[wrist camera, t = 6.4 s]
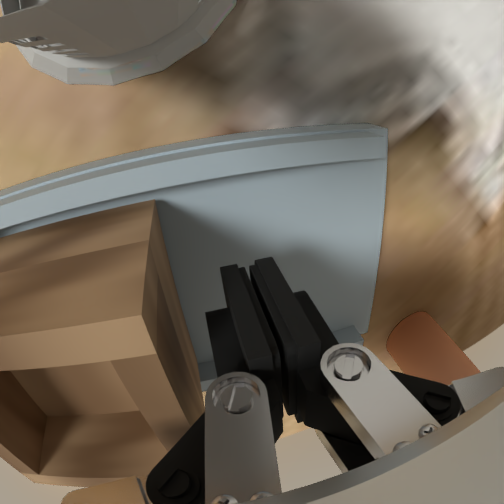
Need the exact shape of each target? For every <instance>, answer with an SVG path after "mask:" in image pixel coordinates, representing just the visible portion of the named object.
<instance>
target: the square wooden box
mask: <svg viewBox="0 0 504 504" xmlns="http://www.w3.org/2000/svg"><path fill="white" fill-rule="evenodd" d="M204 412H205V407H204V401H203V395H202V389H201V383H200V376H199V370H198V363H197V358H196V355H195V352H194V348H193V345H192V342H191V338H190V335H189V332H188V328H187V325H186V322H185V318H184V315H183V311H182V307H181V304H180V300H179V297H178V293H177V289H176V286H175V282H174V278H173V274H172V270H171V266H170V262H169V258H168V254H167V250H166V246H165V242H164V238H163V233H162V229H161V225H160V220H159V216H158V211H157V207H156V202H155V199H153V200H148V201H143V202H139V203H134V204H129V205H125V206H120V207H116V208H111V209H107V210H103V211H98V212H94V213H90V214H86V215H82V216H78V217H74V218H70V219H66V220H62V221H58V222H54V223H51V224H47V225H43V226H39V227H36V228H32V229H29V230H25V231H22V232H18V233H15V234H11V235H8V236H5V237H1V238H0V457H1V458H3V459H4V460H5V461H6V462H7V463H9V464H10V465H11V466H13V467H14V468H15V469H16V470H18V471H19V472H20V473H22V474H23V475H25V476H26V477H27V478H28V479H30V480H31V481H33V482H34V483H41V484H50V485H62V486H78V487H91V486H96V485H100V484H104V483H108V482H112V481H116V480H120V479H124V478H127V477H131V476H134V475H136V476H137V477H142V476H145V475H148V474H149V473H150V472H151V470H152V469H153V468H154V467H155V466H156V465H157V464H158V462H159V461H160V460H161V459H162V458H163V457H164V456H165V455H166V454H167V453H168V452H169V451H170V450H171V448H172V447H173V446H174V445H175V444H176V443H177V442H178V441H179V440H180V439H181V437H182V436H183V435H184V434H185V433H186V432H187V431H188V430H189V429H190V427H191V426H192V425H193V424H194V423H195V422H196V421H197V420H198V418H199V417H200V416H201V415H202V414H203V413H204Z"/></svg>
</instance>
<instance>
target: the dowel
mask: <svg viewBox="0 0 504 504" xmlns="http://www.w3.org/2000/svg"><path fill="white" fill-rule="evenodd" d="M386 348H387V351H388V352H389V353H390V355H391V356H392V357H393V359H394V360H395V362H396V363H397V364H398V366H399V367H400V369H401V370H402V371H403V373H404V374H407V375H411V376H415V377H419V378H423V379H427V380H431V381H436V382H440V383H443V384H445V385H450V384H451V382H452V381H454V380H458V379H462V378H465V377H468V376H472V375H475V374H478V373H481V372H480V371H479V370H478V369H477V367H476V366H475V365H474V364H473V363H472V362H471V360H469V358H468V357H467V356H466V355H465V354H464V352H463V351H462V350H461V349H460V348H459V347H458V346H457V345H456V343H455V342H454V341H453V340H452V339H451V338H450V337H449V336H448V335H447V333H446V332H445V331H444V330H443V329H442V328H441V327H440V326H439V325H438V324H437V323H436V322H435V320H434V319H433V318H432V317H431V316H430V315H429V314H428V313H427V312H423V311H420V312H416V313H413V314H411V315H409V316H408V317H406V318H405V319H404V320H402V321H401V322H400V323H399V324H398V325H397V326H396V327H395V328H394V330H393V331H392V332H391V334H390V336H389V338H388V340H387V344H386Z"/></svg>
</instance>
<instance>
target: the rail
mask: <svg viewBox="0 0 504 504" xmlns="http://www.w3.org/2000/svg"><path fill="white" fill-rule="evenodd" d="M387 149H388V128H384V127H381V126H377V125H373V124H369V123H359V124H334V125H317V126H303V127H291V128H280V129H270V130H261V131H252V132H244V133H236V134H229V135H222V136H215V137H209V138H202V139H196V140H190V141H185V142H179V143H174V144H169V145H163V146H158V147H153V148H149V149H144V150H139V151H135V152H130V153H126V154H122V155H117V156H113V157H109V158H105V159H101V160H97V161H93V162H90V163H86V164H82V165H79V166H75V167H71V168H68V169H65V170H61V171H58V172H54V173H51V174H48V175H45V176H42V177H38V178H35V179H32V180H29V181H26V182H23V183H20V184H18V185H15V186H12V187H9V188H6V189H3V190H1V191H0V238H1V237H5V236H8V235H11V234H15V233H18V232H22V231H25V230H29V229H32V228H36V227H39V226H43V225H47V224H51V223H54V222H58V221H62V220H66V219H70V218H74V217H78V216H82V215H86V214H90V213H94V212H98V211H103V210H107V209H111V208H116V207H120V206H125V205H129V204H134V203H139V202H143V201H148V200H153V199H155V202H156V207H157V211H158V216H159V220H160V225H161V229H162V233H163V238H164V242H165V246H166V250H167V254H168V258H169V262H170V266H171V270H172V274H173V278H174V282H175V286H176V289H177V293H178V297H179V300H180V304H181V307H182V311H183V315H184V318H185V322H186V325H187V328H188V332H189V335H190V338H191V342H192V345H193V348H194V352H195V355H196V358H197V363H198V370H199V376H200V383H201V389H202V392H203V391H207V389H208V387H209V386H210V384H211V383H212V382H213V381H214V380H216V379H217V378H218V377H217V372H216V368H215V363H214V358H213V353H212V348H211V343H210V337H209V332H208V327H207V322H206V316H205V312H208V311H213V310H218V309H223V308H227V305H226V300H225V294H224V289H223V283H222V278H221V272H220V267H223V266H228V265H233V264H237V265H238V268H241V267H245V269H246V272H247V274H248V276H249V279H250V272H249V266H250V265H255V264H254V262H255V260H257V259H262V258H267V257H273V259H274V261H275V262H276V264H277V266H278V267H279V269H280V271H281V273H282V274H283V276H284V278H285V280H286V281H287V283H288V285H289V286H290V288H291V290H292V292H293V293H294V292H298V291H303V290H304V291H306V292H307V293H308V295H309V296H310V298H311V300H312V301H313V303H314V304H315V306H316V308H317V309H318V311H319V312H320V314H321V315H322V317H323V319H324V320H325V322H326V323H327V325H328V327H329V328H330V330H331V331H332V333H333V335H334V336H335V338H336V339H337V341H338V343H339V344H341V343H354V344H359V345H362V346H363V342H364V339H363V338H362V337H361V335H360V334H363V333H366V332H368V326H369V321H370V315H371V310H372V304H373V297H374V291H375V285H376V278H377V271H378V263H379V255H380V247H381V238H382V228H383V217H384V205H385V192H386V174H387ZM250 281H251V280H250Z"/></svg>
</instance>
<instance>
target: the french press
mask: <svg viewBox="0 0 504 504" xmlns="http://www.w3.org/2000/svg"><path fill="white" fill-rule="evenodd" d="M236 2H237V0H0V4H1V9H2V13H3V16H2V17H0V42H1V43H4V42H10V43H13V44H16V46H17V47H18V49H19V50H20V51H21V53H22V54H23V56H24V57H25V59H26V60H27V61H28V63H29V64H30V65H31V67H33V68H35V69H37V70H39V71H41V72H43V73H45V74H48V75H50V76H52V77H54V78H56V79H58V80H60V81H62V82H64V83H66V84H95V85H116V84H119V83H122V82H125V81H129V80H132V79H135V78H138V77H142V76H145V75H149V74H152V73H156V72H159V71H163V70H164V69H166V68H167V67H169V66H170V65H172V64H173V63H175V62H176V61H178V60H179V59H181V58H182V57H184V56H185V55H187V54H188V53H190V52H191V51H193V50H195V49H196V48H198V47H199V46H201V45H203V44H204V43H206V42H207V41H208V39H209V38H210V37H211V35H212V34H213V33H214V32H215V30H216V29H217V28H218V27H219V25H220V24H221V23H222V22H223V20H224V19H225V18H226V17H227V15H228V14H229V13H230V12H231V11H232V10H233V8H234V7H235V6H236Z"/></svg>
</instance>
